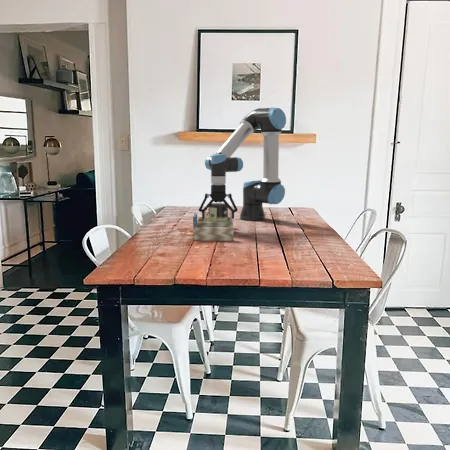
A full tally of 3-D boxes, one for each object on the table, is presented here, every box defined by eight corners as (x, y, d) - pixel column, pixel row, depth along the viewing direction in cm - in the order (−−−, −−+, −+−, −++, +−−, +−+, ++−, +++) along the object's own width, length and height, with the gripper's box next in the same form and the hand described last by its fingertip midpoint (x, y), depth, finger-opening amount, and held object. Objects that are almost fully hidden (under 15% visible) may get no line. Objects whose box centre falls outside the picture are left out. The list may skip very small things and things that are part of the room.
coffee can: (229, 229, 249) (229, 203, 247) (225, 233, 240) (225, 206, 237) (210, 228, 251) (210, 202, 249) (206, 232, 242) (206, 205, 239)
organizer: (232, 228, 254) (232, 207, 252) (233, 240, 223) (233, 217, 221) (196, 227, 253) (196, 207, 251) (193, 240, 222) (192, 217, 220)
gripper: (242, 183, 245) (241, 223, 249) (194, 183, 245) (194, 223, 249) (242, 185, 237) (242, 226, 241) (193, 184, 237) (193, 225, 241)
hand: (218, 224), depth 245 cm, fingers open, 13 cm apart
